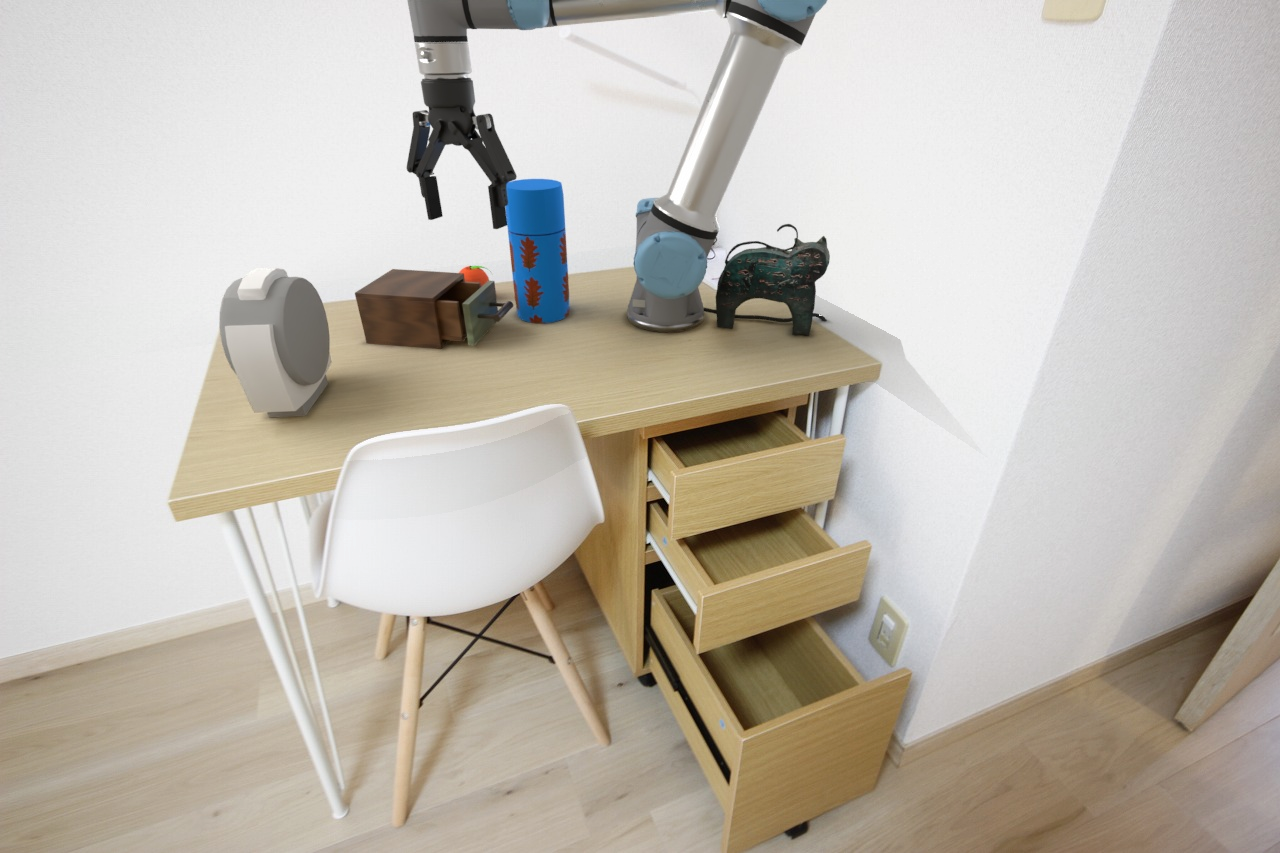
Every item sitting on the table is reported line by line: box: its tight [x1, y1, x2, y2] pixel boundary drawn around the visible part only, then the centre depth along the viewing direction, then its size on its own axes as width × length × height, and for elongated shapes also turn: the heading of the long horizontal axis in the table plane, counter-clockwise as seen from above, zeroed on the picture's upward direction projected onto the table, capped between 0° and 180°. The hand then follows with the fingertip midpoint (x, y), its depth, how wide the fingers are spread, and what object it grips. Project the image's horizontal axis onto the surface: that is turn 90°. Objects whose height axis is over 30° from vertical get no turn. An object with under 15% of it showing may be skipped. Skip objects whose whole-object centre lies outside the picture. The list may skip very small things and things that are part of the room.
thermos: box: [505, 178, 570, 324], centre depth 124 cm, size 11×11×25 cm
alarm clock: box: [219, 267, 333, 418], centre depth 95 cm, size 18×8×20 cm, turn 5°
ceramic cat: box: [715, 223, 831, 337], centre depth 119 cm, size 20×6×20 cm, turn 77°
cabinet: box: [354, 268, 465, 350], centre depth 120 cm, size 15×14×10 cm
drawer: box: [435, 280, 514, 346], centre depth 119 cm, size 18×12×8 cm
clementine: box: [458, 265, 494, 287], centre depth 136 cm, size 8×7×7 cm
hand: (467, 222), depth 107 cm, fingers open, 13 cm apart
